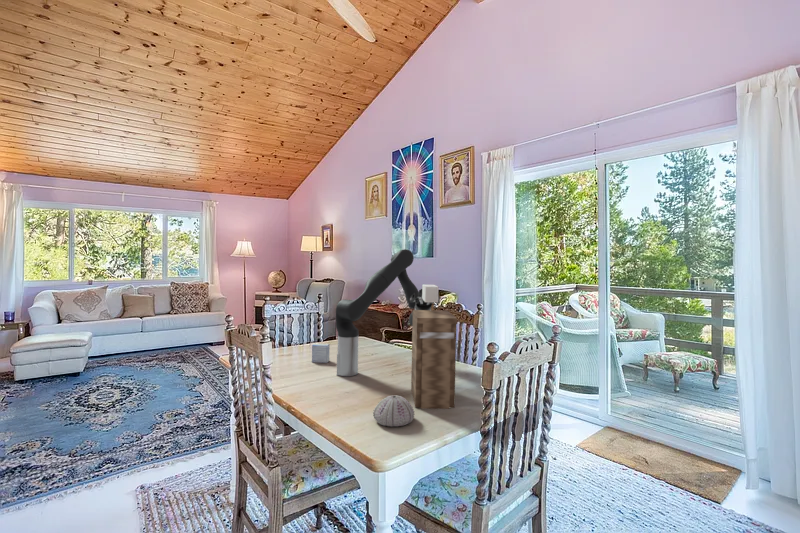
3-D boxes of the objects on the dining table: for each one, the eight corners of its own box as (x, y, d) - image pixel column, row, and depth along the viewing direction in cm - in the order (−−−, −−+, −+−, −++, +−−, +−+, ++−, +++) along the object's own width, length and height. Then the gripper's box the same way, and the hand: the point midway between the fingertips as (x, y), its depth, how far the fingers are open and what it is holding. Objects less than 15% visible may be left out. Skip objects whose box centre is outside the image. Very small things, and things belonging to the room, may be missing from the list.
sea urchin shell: (416, 429, 122) (417, 403, 122) (372, 430, 121) (373, 404, 121) (412, 412, 135) (412, 389, 135) (372, 413, 134) (372, 389, 134)
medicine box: (329, 360, 199) (329, 343, 199) (327, 363, 194) (327, 345, 194) (314, 360, 200) (314, 343, 199) (311, 362, 195) (311, 345, 195)
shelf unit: (415, 409, 138) (417, 318, 137) (410, 389, 158) (412, 310, 157) (455, 409, 138) (457, 318, 138) (445, 389, 159) (447, 310, 158)
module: (425, 302, 152) (425, 286, 152) (419, 296, 173) (420, 282, 173) (438, 302, 152) (438, 287, 152) (431, 296, 173) (431, 283, 173)
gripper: (407, 298, 185) (410, 282, 170) (437, 299, 185) (443, 283, 170) (407, 313, 181) (410, 298, 166) (438, 314, 182) (444, 299, 167)
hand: (427, 291), depth 168 cm, fingers closed on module, 4 cm apart
